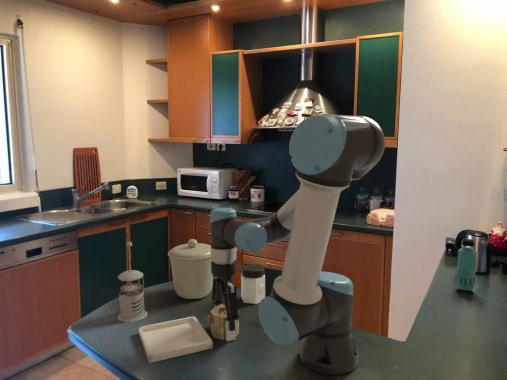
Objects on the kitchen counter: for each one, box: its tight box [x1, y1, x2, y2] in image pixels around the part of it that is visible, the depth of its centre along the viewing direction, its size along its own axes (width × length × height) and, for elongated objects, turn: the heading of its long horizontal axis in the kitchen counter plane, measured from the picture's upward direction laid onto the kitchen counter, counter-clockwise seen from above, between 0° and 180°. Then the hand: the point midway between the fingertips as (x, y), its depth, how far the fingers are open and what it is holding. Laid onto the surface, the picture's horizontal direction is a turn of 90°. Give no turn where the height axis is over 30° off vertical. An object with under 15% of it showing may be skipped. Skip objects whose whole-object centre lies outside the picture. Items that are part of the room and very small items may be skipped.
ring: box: [206, 304, 240, 341], centre depth 122 cm, size 8×9×7 cm
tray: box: [137, 315, 214, 364], centre depth 118 cm, size 18×18×2 cm
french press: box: [116, 241, 149, 323], centre depth 134 cm, size 10×12×25 cm
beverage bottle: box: [455, 238, 478, 291], centre depth 153 cm, size 6×7×20 cm
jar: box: [240, 263, 266, 305], centre depth 146 cm, size 9×8×12 cm
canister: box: [167, 238, 213, 300], centre depth 151 cm, size 18×18×21 cm
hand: (224, 332), depth 122 cm, fingers open, 9 cm apart
